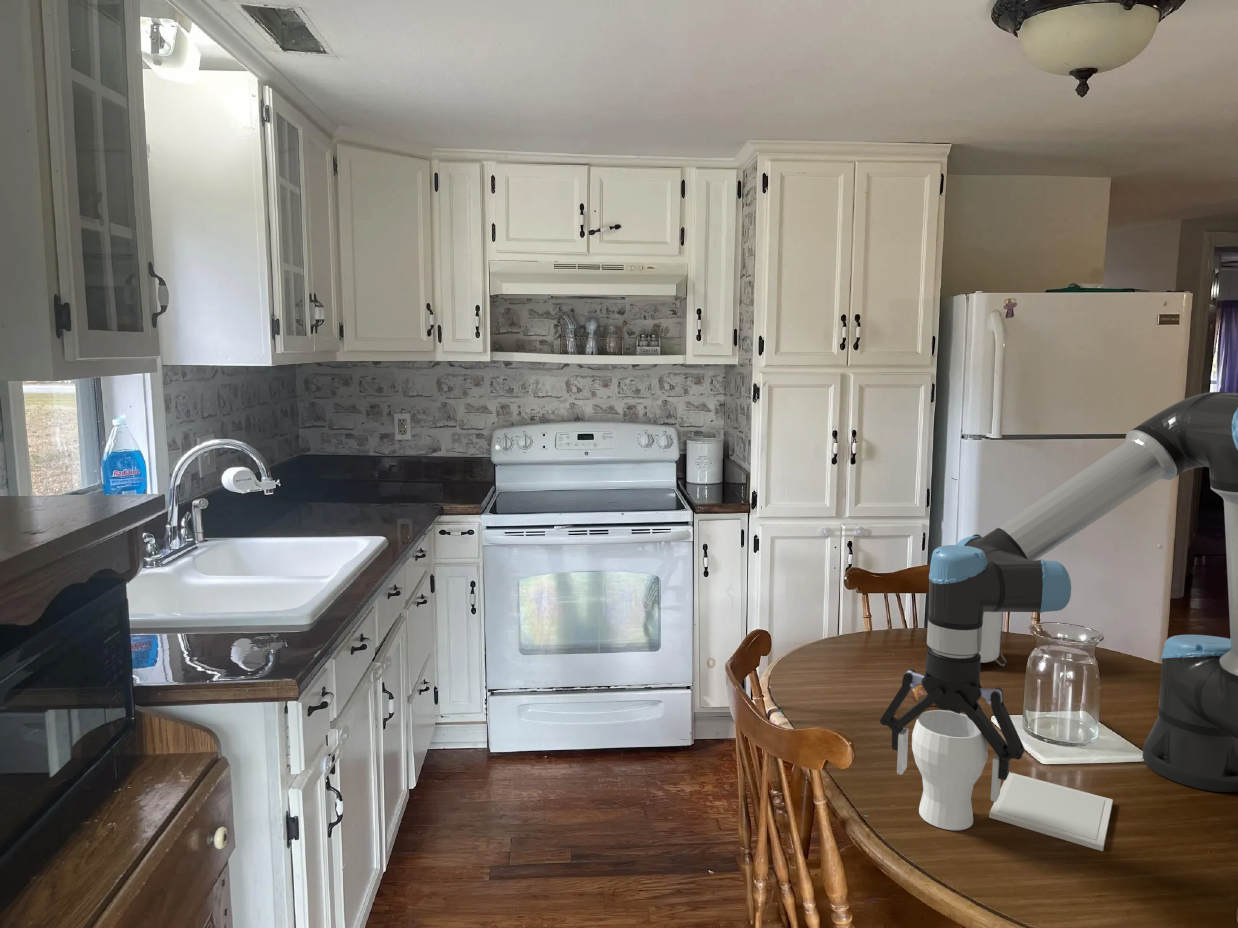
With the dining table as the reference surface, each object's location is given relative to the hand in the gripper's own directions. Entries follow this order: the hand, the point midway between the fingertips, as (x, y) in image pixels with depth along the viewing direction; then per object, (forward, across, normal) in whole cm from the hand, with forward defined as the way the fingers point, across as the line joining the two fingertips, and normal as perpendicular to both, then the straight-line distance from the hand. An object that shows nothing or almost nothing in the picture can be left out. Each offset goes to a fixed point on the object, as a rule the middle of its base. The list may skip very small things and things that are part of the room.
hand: (947, 783), depth 123 cm
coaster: (+5, -13, -11) cm, 18 cm away
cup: (+6, 0, 0) cm, 6 cm away
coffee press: (+6, +13, -71) cm, 72 cm away
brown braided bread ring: (+6, +13, -45) cm, 47 cm away
